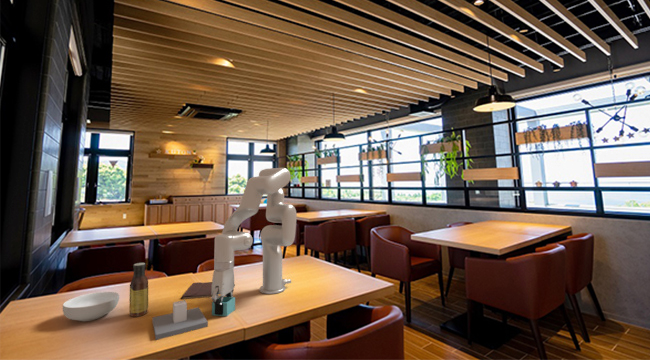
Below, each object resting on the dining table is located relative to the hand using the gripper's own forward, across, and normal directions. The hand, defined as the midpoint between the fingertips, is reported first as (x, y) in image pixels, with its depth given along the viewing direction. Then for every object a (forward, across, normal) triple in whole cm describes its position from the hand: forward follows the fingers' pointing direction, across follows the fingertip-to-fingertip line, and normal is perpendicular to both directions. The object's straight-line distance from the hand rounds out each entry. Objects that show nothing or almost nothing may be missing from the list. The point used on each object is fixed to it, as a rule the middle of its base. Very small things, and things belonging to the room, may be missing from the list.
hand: (223, 310), depth 112 cm
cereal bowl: (+1, +12, -49) cm, 50 cm away
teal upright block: (+1, 0, 0) cm, 1 cm away
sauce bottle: (+1, +7, -32) cm, 33 cm away
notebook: (+2, -22, -23) cm, 32 cm away
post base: (+1, +12, -11) cm, 16 cm away
